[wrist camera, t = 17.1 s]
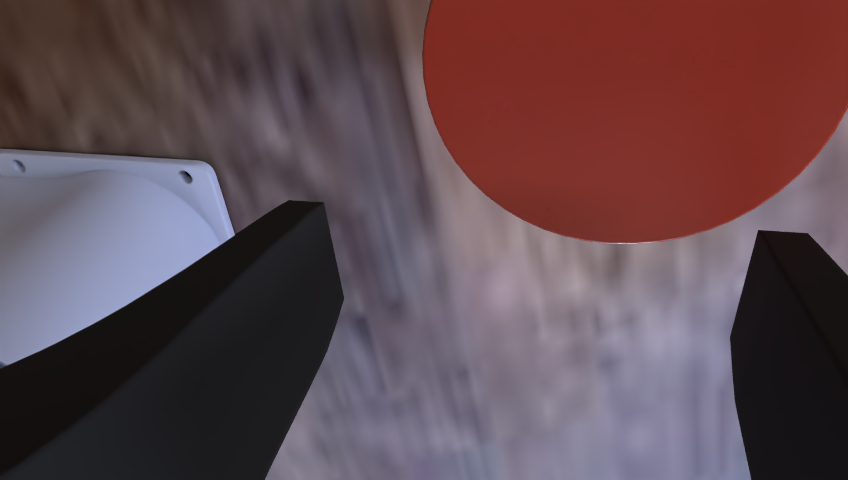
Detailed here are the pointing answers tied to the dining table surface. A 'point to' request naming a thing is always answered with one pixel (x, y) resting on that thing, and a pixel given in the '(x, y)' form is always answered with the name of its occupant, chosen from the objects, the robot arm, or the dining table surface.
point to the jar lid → (634, 106)
